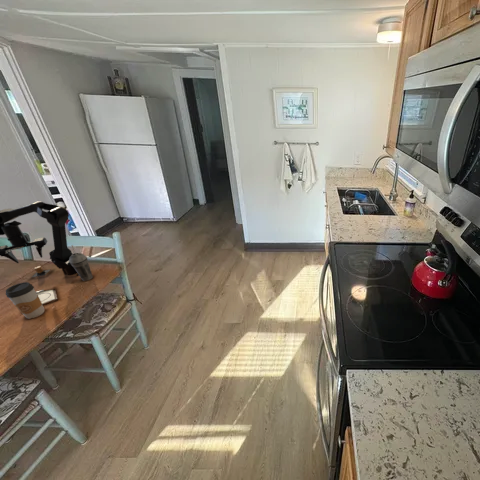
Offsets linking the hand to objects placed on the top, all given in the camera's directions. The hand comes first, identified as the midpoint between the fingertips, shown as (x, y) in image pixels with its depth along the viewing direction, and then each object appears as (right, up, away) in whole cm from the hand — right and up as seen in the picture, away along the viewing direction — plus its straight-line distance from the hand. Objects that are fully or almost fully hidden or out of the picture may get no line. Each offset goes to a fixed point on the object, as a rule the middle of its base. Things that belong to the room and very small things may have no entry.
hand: (30, 260), depth 143 cm
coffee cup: (+27, -23, -22) cm, 42 cm away
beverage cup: (+30, -10, +2) cm, 31 cm away
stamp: (+1, -8, +5) cm, 9 cm away
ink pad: (+1, -9, +5) cm, 10 cm away
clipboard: (+19, -18, -14) cm, 30 cm away
